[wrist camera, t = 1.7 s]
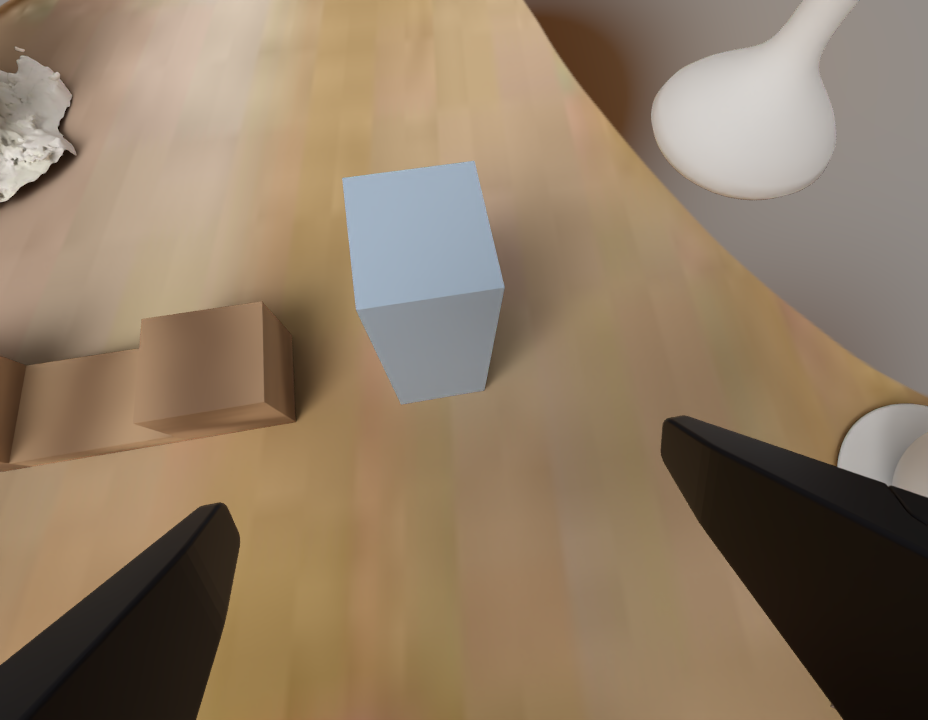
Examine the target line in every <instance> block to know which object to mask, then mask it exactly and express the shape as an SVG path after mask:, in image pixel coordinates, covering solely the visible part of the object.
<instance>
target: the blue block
mask: <svg viewBox="0 0 928 720" xmlns="http://www.w3.org/2000/svg"><path fill="white" fill-rule="evenodd" d="M342 179H343V189H344V199H345V208H346V218H347V227H348V237H349V246H350V256H351V266H352V275H353V285H354V294H355V304H356V311H357V313H358V315H359V317H360V319H361V321H362V323H363V326H364V328H365V330H366V332H367V334H368V336H369V338H370V340H371V342H372V344H373V347H374V349H375V351H376V353H377V355H378V357H379V359H380V361H381V363H382V365H383V367H384V370H385V372H386V374H387V376H388V378H389V380H390V382H391V384H392V386H393V388H394V391H395V393H396V395H397V397H398V399H399V401H400V403H401V404H407V403H413V402H419V401H425V400H431V399H437V398H443V397H448V396H454V395H460V394H466V393H472V392H478V391H484V390H485V385H486V380H487V374H488V369H489V364H490V359H491V354H492V349H493V344H494V339H495V334H496V329H497V324H498V319H499V314H500V309H501V303H502V298H503V293H504V288H505V287H504V283H503V279H502V274H501V270H500V266H499V262H498V258H497V254H496V249H495V245H494V241H493V237H492V233H491V228H490V224H489V220H488V216H487V212H486V208H485V203H484V199H483V195H482V191H481V187H480V182H479V178H478V174H477V170H476V166H475V162H474V161H470V162H462V163H455V164H447V165H439V166H432V167H424V168H416V169H409V170H401V171H393V172H385V173H378V174H370V175H362V176H355V177H347V178H342Z"/></svg>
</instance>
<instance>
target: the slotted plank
mask: <svg viewBox="0 0 928 720" xmlns="http://www.w3.org/2000/svg"><path fill="white" fill-rule="evenodd" d="M293 422H296V412H295V391H294V370H293V348H292V335H291V334H290V332H289V331H288V330H287V329H286V328H285V327H284V326H283V325H282V323H281V322H280V321H279V320H278V319H277V318H276V317H275V315H274V314H273V313H272V312H271V311H270V310H269V309H268V307H267V306H266V305H265V304H264V303H263V302H262V301H261V302H254V303H247V304H240V305H234V306H227V307H220V308H213V309H207V310H200V311H193V312H186V313H179V314H173V315H166V316H159V317H152V318H146V319H142V321H141V333H140V345H139V348H138V349H131V350H125V351H118V352H111V353H105V354H98V355H92V356H85V357H79V358H72V359H66V360H59V361H52V362H46V363H39V364H33V365H24V364H21V363H18V362H16V361H13V360H10V359H7V358H5V357H2V356H0V472H3V471H9V470H15V469H21V468H27V467H32V466H38V465H44V464H50V463H56V462H62V461H68V460H74V459H80V458H86V457H92V456H98V455H104V454H109V453H115V452H121V451H127V450H133V449H139V448H145V447H151V446H157V445H163V444H169V443H175V442H181V441H187V440H192V439H198V438H204V437H210V436H216V435H222V434H228V433H234V432H240V431H246V430H252V429H258V428H264V427H270V426H275V425H281V424H287V423H293Z"/></svg>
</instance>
